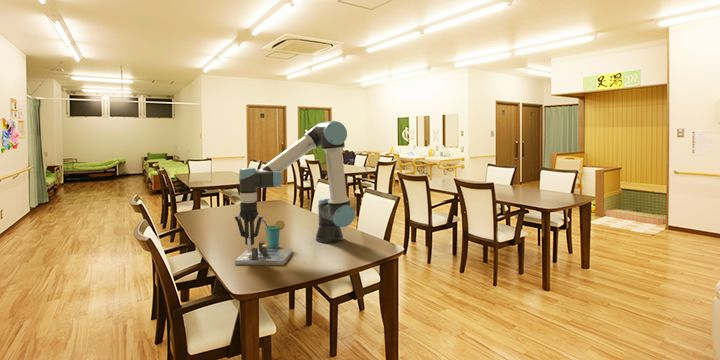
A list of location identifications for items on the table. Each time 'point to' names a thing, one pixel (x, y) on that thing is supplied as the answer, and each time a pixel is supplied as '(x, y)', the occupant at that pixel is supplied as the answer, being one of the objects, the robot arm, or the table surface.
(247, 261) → the panel
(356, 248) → the table surface
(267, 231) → the cup
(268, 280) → the table surface
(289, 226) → the table surface
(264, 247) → the block
